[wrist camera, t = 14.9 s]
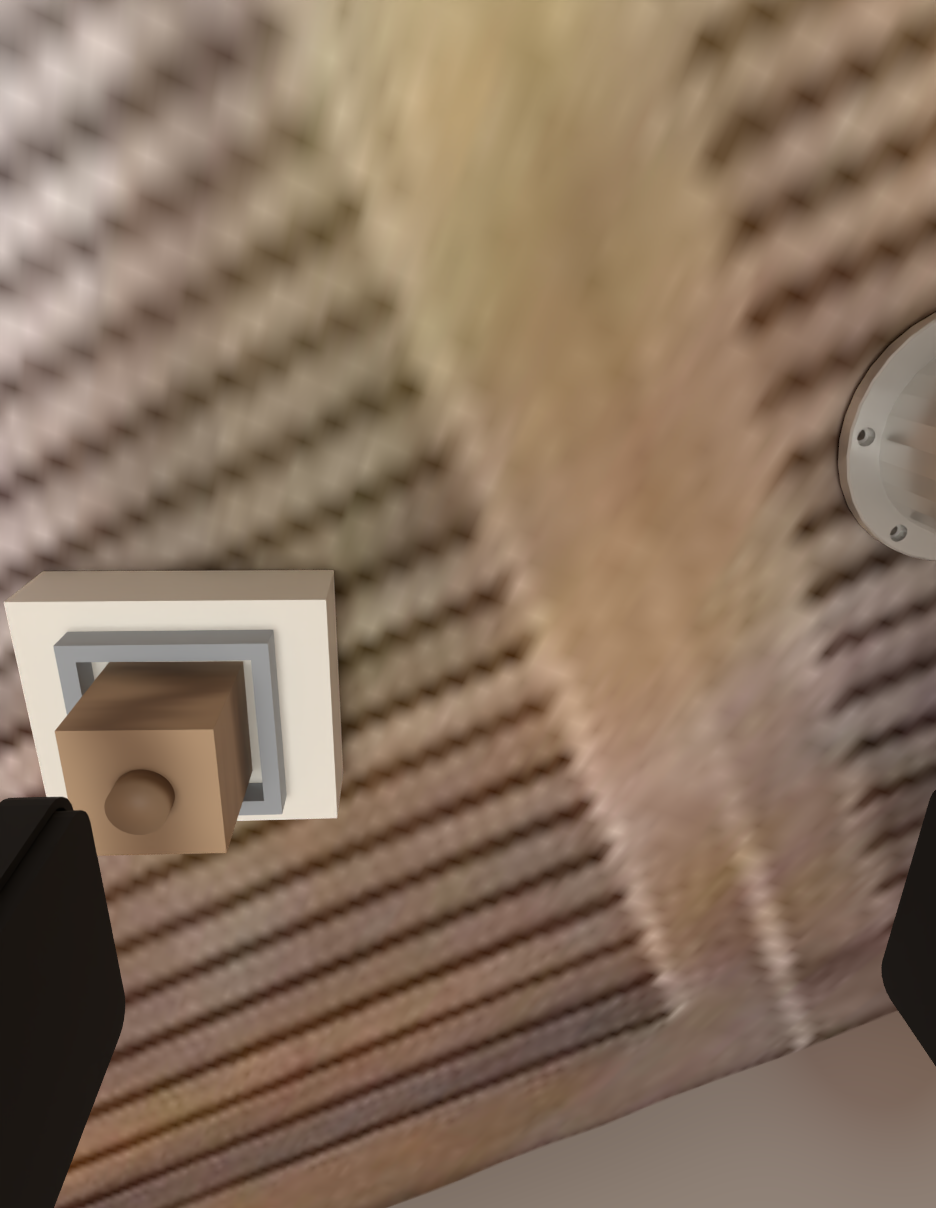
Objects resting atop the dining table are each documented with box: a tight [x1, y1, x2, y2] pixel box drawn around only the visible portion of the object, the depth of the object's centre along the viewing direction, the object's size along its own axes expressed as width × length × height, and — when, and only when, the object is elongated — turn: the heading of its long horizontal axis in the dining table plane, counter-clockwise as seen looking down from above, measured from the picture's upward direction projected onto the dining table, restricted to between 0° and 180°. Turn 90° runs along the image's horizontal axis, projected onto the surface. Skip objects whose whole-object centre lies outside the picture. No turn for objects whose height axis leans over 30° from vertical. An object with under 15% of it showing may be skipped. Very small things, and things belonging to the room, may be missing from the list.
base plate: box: [4, 570, 343, 821], centre depth 38 cm, size 14×12×6 cm
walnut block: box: [55, 661, 253, 856], centre depth 34 cm, size 6×6×7 cm
